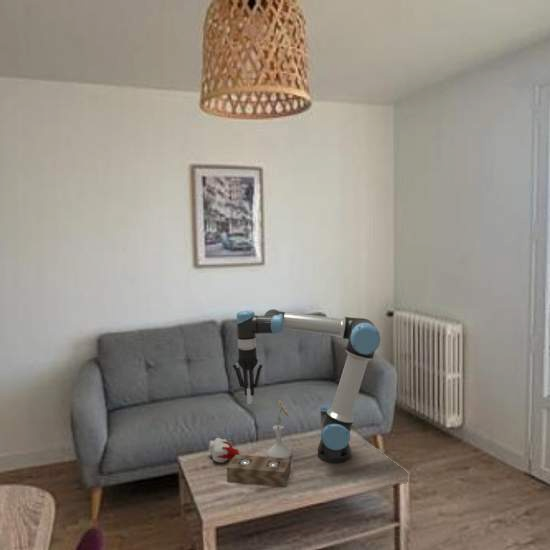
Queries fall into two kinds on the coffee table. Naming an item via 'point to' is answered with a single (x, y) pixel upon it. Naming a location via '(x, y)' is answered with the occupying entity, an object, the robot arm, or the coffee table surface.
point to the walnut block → (259, 470)
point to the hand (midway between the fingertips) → (250, 402)
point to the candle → (222, 450)
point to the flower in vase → (279, 440)
